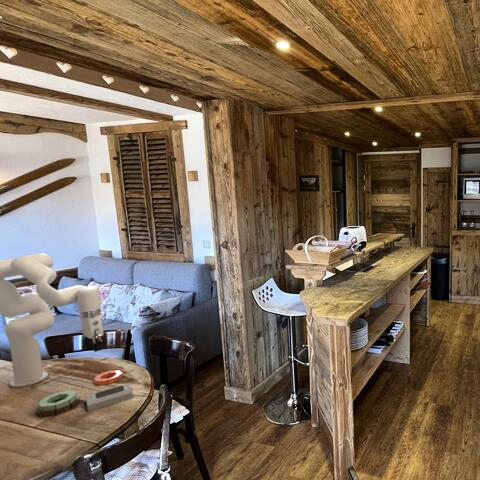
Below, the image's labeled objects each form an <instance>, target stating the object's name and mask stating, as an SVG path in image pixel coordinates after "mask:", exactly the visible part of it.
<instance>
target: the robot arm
mask: <svg viewBox="0 0 480 480" xmlns="http://www.w3.org/2000/svg"><path fill="white" fill-rule="evenodd" d="M52 267H54V261H53V258H52V257H51V256H50V255H48V254H46V253H33V254H26V255H21V256H18V257H13V258H6V259H0V315H1V316H2V317H4V318H13V317H18V316H22V315H25V314H28V315H25V316H22V317H18V318H15V319H13V320H11V321H10V322H8V323H7V324H6V325H5V326H4V333H5V336H6V338H7V341H8V343H9V349H10V355H11V363H12V371H13V380H11V381H10V382H9V385H10V387H13V388H21V387H27V386H31V385H34V384H37V383H40V382H42V381H44V380H46V379H47V378H48V376H49V375H48V372H46V371H44V370H43V361H42V354H41V345H40V342H39V340H38V339H37V338H35V337H34V335H37V334H39V333H42V332H44V331H47V330H49V329H51V328H52V327H53V326H54V324H55V317H54V316H53V313H52V311H51V310H50V307H49V306H48V304H49V305H51V306H53V307H56V308H60V307H65V306H68V305H71V304H75V303H77V307H78V316H79V319H80V320H81V331H82V335H83V343H84V347H85V348H88V347H93V352H94V353H95V352H99V351H102V350H103V348H104V347H103V338H102V337H104V335H105V333H104V329H103V328H104V327H103V322H102V318H101V315H102V313H101V303H100V302H101V301H100V293H99V288H98V287H96V286H85V285H79V284H78V285H73V286H70V287H65V288H61V289H56V288H54V287H52V285H51V284H52V283H53V282H54V281H55V280H56V278H57V276H58V275H57V272H56V271H55V270H54V269H52ZM17 276H21V277H23V278H25V279H26V280H27V281H29V282H30V283H33V285H35V290H36V291H34V292H33V291H31V292H25V293H20V291H18V288H17V287H16V285H15V284H14V283H12V282H11V281H9V280H6V279H7V278H12V277H17Z"/></svg>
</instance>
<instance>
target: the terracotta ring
mask: <svg viewBox="0 0 480 480" xmlns="http://www.w3.org/2000/svg"><path fill="white" fill-rule="evenodd" d="M123 376H124V375H123V371H122V370H118V369H117V370H109V371H105V372H102V373H100V374H97V375H96V376H95V377H94V378H93V383H94V384H95V385H97V386H104V385H110V384H113V383H115V382H118V381H119V380H121V378H123Z"/></svg>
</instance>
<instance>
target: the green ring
mask: <svg viewBox="0 0 480 480" xmlns="http://www.w3.org/2000/svg"><path fill="white" fill-rule="evenodd" d="M77 397H78V395H77V393H76V392H75V391H74V390H65V391H60V392H59V391H58V392H56V393H53V394H50V395H47V396H44V397H43V398H42V399H40V401H38V403H37V407H38V408H39V409H40V410H41V411H42V410H43V411H48V410H55V409H59V408H61V407H64V406H66V405H69V404H71V403H72V402H73V401H74V400H75V399H77ZM62 398H65V399H64V400H61V401H58V402H54V403H50V402H52V401H55V400H57V399H62Z"/></svg>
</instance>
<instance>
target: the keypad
mask: <svg viewBox="0 0 480 480" xmlns="http://www.w3.org/2000/svg"><path fill="white" fill-rule="evenodd" d="M129 399H133V393H132V390H131V387H130V386H129V384H128V383H124V384H120V385H117V386H113V387H109V388H106V389H102V390H99V391H96V392H92V393H90V394H87V395H86V396H85V403H86V409H87V412H92V411H94V410H97V409H101V408H103V407H107V406H111V405H114V404H117V403H120V402H123V401H127V400H129Z"/></svg>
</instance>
